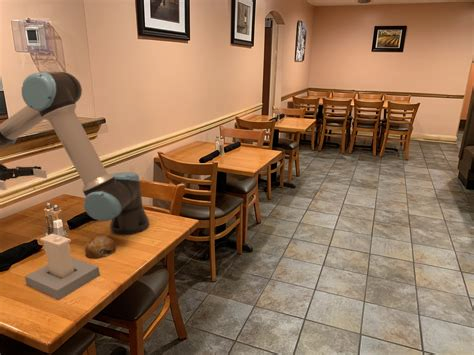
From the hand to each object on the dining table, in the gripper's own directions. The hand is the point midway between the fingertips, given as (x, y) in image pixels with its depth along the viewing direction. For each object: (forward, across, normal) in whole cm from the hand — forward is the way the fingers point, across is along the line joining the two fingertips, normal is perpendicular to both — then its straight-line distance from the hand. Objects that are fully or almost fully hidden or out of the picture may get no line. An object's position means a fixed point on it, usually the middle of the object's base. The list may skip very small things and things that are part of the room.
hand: (25, 179), depth 117 cm
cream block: (+21, +6, -28) cm, 36 cm away
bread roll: (+17, -11, -28) cm, 35 cm away
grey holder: (+21, +6, -28) cm, 36 cm away
